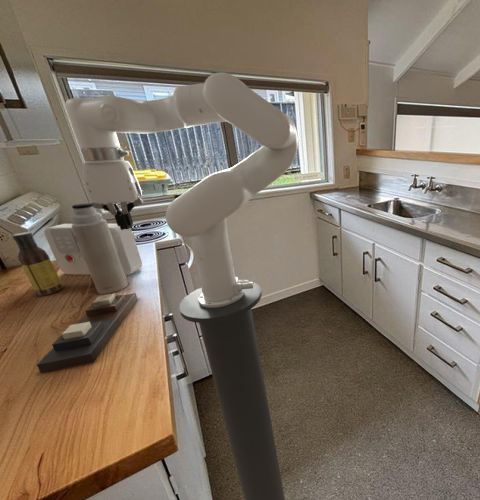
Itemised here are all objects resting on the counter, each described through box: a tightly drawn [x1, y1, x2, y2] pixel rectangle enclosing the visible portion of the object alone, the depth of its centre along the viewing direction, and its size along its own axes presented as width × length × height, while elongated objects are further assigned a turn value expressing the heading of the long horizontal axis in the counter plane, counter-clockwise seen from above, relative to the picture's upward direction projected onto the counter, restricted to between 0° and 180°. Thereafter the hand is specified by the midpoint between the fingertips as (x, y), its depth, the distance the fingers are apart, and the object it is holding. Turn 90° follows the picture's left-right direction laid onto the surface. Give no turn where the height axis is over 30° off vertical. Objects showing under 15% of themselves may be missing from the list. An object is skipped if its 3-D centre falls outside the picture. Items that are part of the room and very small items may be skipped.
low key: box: [92, 293, 116, 307], centre depth 77 cm, size 4×4×2 cm
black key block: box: [36, 318, 120, 374], centre depth 65 cm, size 9×14×4 cm, turn 19°
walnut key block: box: [75, 292, 138, 326], centre depth 77 cm, size 9×14×4 cm, turn 19°
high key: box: [61, 322, 92, 340], centre depth 64 cm, size 4×4×2 cm
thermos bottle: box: [71, 202, 129, 295], centre depth 88 cm, size 8×8×28 cm
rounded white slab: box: [43, 223, 143, 276], centre depth 101 cm, size 29×8×18 cm, turn 85°
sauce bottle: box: [11, 231, 63, 296], centre depth 88 cm, size 6×6×20 cm
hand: (126, 228), depth 75 cm, fingers closed
